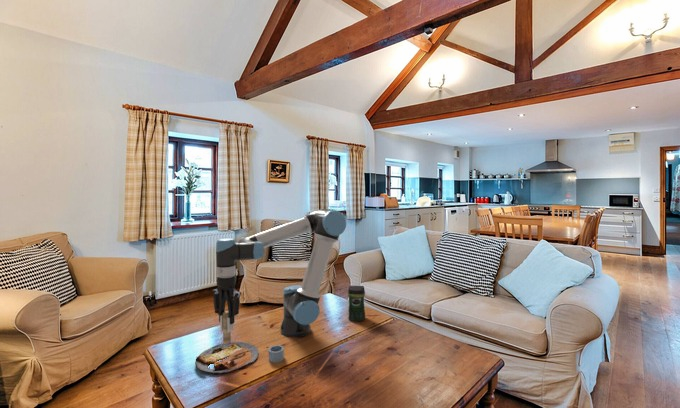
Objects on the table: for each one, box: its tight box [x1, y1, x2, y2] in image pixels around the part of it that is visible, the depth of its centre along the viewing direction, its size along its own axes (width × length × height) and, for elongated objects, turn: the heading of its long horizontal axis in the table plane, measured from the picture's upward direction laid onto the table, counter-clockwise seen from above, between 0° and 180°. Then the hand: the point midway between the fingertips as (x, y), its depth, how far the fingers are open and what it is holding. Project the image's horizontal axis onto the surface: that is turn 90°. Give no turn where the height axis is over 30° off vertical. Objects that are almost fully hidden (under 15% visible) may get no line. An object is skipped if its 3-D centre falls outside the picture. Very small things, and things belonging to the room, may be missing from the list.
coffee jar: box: [347, 285, 366, 322], centre depth 174 cm, size 10×8×19 cm
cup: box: [268, 344, 285, 364], centre depth 132 cm, size 6×6×5 cm
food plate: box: [194, 341, 259, 375], centre depth 133 cm, size 25×23×4 cm
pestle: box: [222, 310, 232, 344], centre depth 133 cm, size 3×3×13 cm
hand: (226, 330), depth 133 cm, fingers closed on pestle, 3 cm apart
